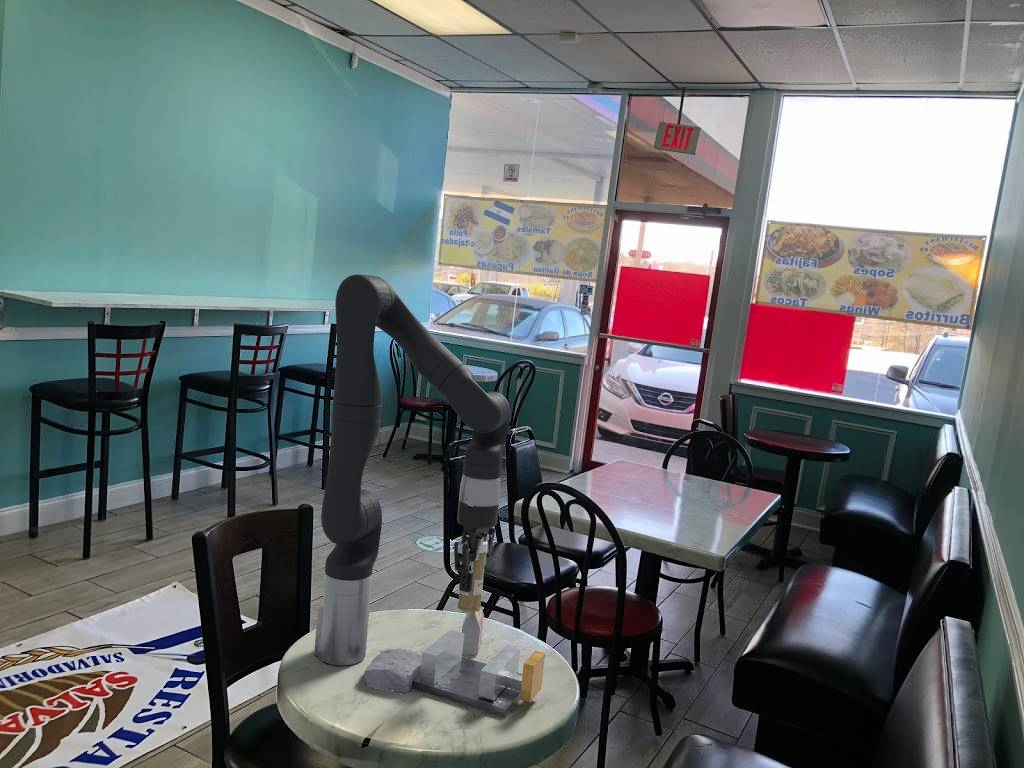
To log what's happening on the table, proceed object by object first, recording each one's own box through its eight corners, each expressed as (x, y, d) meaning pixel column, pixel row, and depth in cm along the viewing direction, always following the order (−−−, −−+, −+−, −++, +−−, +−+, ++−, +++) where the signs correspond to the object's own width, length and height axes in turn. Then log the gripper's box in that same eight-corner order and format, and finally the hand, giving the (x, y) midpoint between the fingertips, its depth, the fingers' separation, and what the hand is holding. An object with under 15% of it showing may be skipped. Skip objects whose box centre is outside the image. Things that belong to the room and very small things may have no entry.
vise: (411, 688, 152) (415, 652, 151) (445, 659, 165) (448, 626, 164) (505, 717, 145) (509, 680, 144) (532, 684, 158) (536, 650, 157)
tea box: (459, 653, 168) (464, 607, 167) (464, 639, 175) (468, 595, 174) (477, 655, 168) (481, 609, 167) (481, 641, 174) (485, 597, 173)
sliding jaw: (478, 696, 148) (481, 659, 147) (503, 669, 159) (506, 635, 158) (524, 709, 144) (528, 672, 144) (546, 682, 155) (550, 647, 155)
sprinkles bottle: (483, 613, 152) (490, 543, 151) (459, 613, 151) (466, 543, 149) (477, 603, 157) (484, 536, 155) (454, 603, 155) (461, 535, 154)
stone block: (360, 696, 151) (411, 695, 149) (357, 670, 151) (409, 670, 149) (382, 670, 162) (430, 669, 161) (380, 646, 162) (428, 645, 160)
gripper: (476, 488, 159) (468, 571, 161) (444, 503, 146) (435, 594, 148) (512, 495, 157) (503, 580, 159) (482, 511, 143) (472, 603, 145)
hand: (470, 586), depth 153 cm, fingers closed on sprinkles bottle, 4 cm apart
